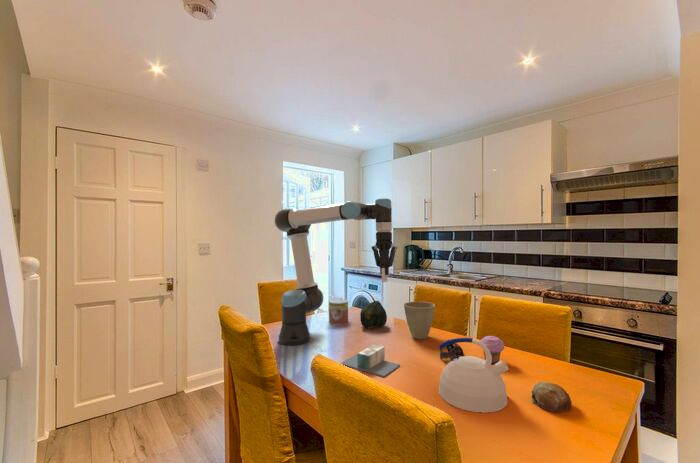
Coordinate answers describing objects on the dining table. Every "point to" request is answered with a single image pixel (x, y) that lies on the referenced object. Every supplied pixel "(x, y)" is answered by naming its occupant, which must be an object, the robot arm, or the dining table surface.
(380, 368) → the mat
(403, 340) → the dining table surface
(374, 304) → the squash
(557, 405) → the brown rounded lump
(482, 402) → the kettle
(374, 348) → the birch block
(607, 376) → the dining table surface
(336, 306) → the canned food
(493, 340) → the cupcake
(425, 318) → the plant pot
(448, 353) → the vr controller
